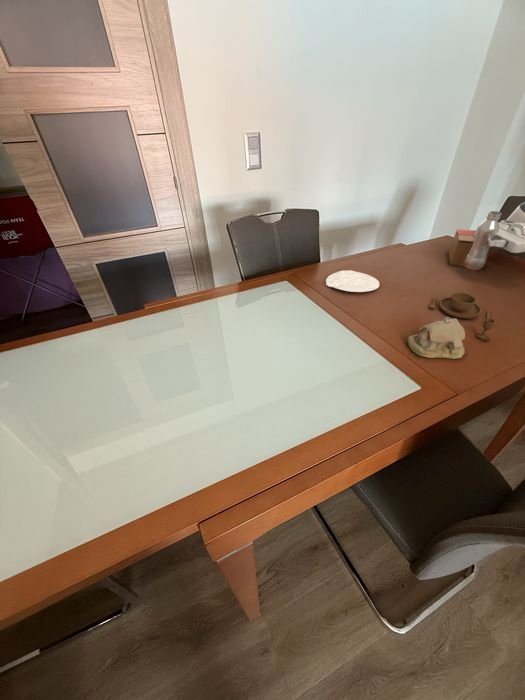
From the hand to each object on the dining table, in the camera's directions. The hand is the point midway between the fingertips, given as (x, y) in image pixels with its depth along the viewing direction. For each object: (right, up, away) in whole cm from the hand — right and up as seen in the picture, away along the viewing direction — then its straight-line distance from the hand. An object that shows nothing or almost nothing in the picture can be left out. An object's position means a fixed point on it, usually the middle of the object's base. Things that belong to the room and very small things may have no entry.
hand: (481, 239), depth 108 cm
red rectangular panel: (+9, +8, +17) cm, 21 cm away
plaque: (-44, -14, +9) cm, 47 cm away
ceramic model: (-30, -39, -23) cm, 54 cm away
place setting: (-16, -29, -12) cm, 35 cm away
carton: (+8, -1, +21) cm, 22 cm away
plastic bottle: (+1, -9, +7) cm, 11 cm away
